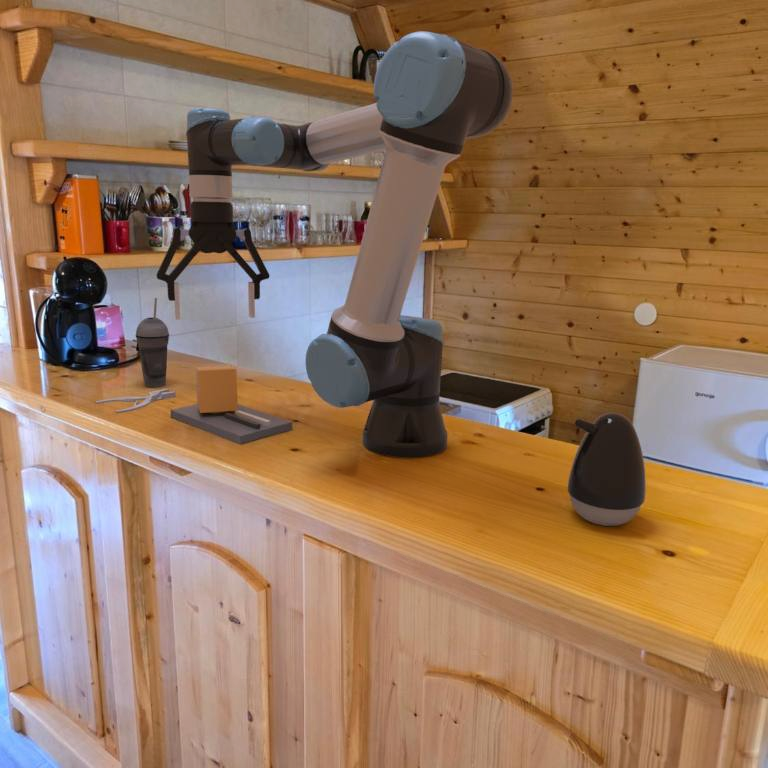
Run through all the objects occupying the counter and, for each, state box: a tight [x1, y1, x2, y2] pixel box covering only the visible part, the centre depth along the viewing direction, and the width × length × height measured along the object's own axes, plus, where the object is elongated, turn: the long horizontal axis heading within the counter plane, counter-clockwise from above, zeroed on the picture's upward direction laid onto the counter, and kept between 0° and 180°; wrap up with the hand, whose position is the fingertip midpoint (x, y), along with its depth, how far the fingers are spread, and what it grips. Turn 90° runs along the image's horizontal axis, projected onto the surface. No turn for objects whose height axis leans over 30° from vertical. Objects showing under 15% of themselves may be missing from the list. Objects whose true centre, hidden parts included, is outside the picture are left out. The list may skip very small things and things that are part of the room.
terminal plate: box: [170, 403, 293, 445], centre depth 132 cm, size 22×12×6 cm, turn 49°
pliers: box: [94, 388, 177, 414], centre depth 145 cm, size 10×2×15 cm
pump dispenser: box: [567, 412, 647, 527], centre depth 94 cm, size 10×10×15 cm
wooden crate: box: [195, 365, 239, 413], centre depth 134 cm, size 7×7×8 cm
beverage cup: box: [135, 297, 170, 388], centre depth 156 cm, size 7×7×20 cm
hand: (215, 317), depth 130 cm, fingers open, 13 cm apart
